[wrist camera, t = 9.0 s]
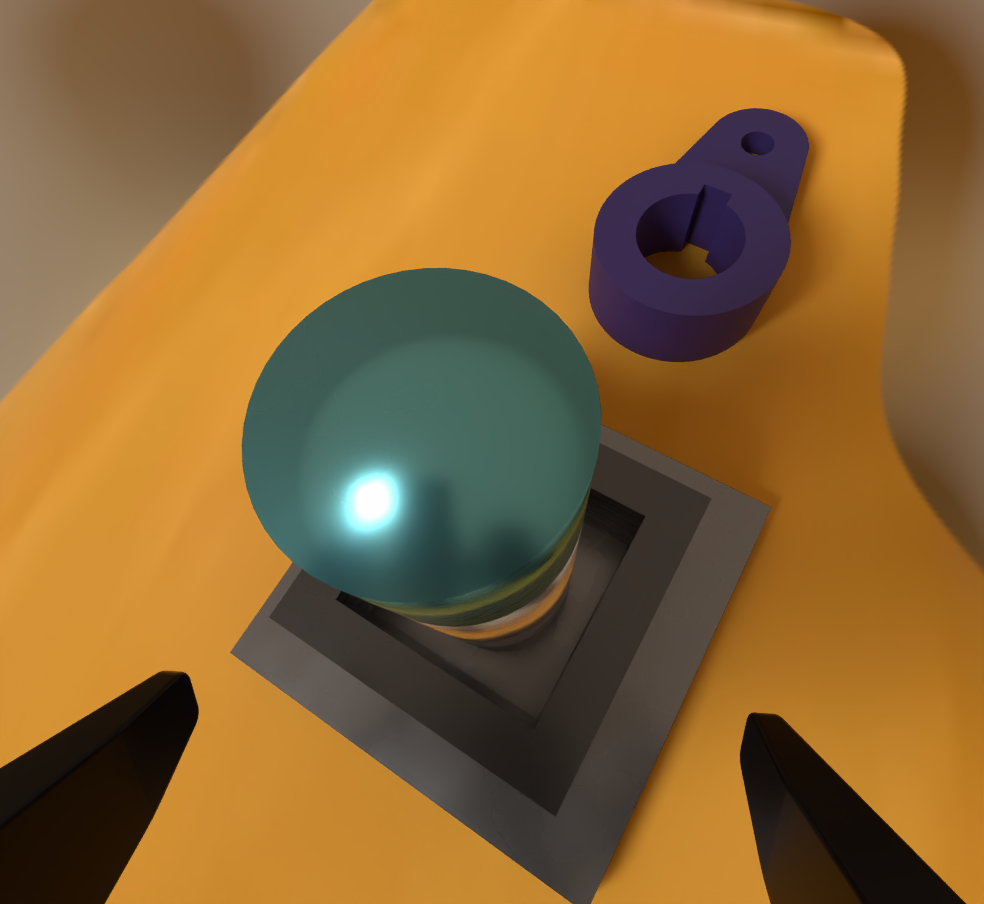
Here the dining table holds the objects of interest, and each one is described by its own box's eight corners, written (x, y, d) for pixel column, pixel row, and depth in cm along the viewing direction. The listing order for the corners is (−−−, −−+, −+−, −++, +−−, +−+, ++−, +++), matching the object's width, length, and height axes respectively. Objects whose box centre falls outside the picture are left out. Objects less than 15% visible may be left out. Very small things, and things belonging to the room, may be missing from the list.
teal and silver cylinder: (595, 592, 17) (681, 436, 6) (489, 681, 17) (365, 691, 5) (511, 492, 19) (455, 214, 7) (410, 571, 18) (181, 398, 7)
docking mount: (760, 515, 19) (822, 468, 14) (583, 899, 15) (596, 982, 11) (447, 361, 22) (422, 285, 17) (246, 653, 18) (157, 647, 14)
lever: (714, 394, 21) (740, 347, 18) (558, 321, 22) (559, 267, 19) (841, 163, 24) (882, 91, 21) (696, 114, 25) (715, 41, 22)
